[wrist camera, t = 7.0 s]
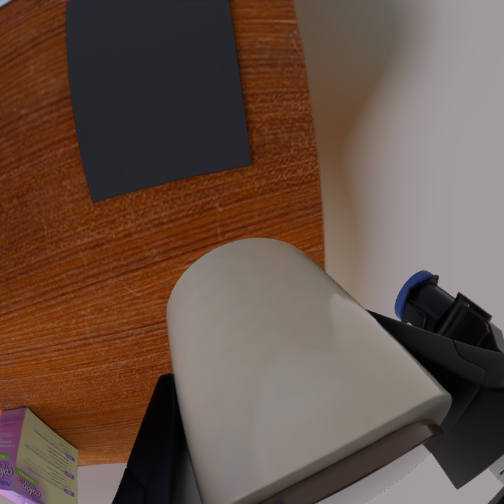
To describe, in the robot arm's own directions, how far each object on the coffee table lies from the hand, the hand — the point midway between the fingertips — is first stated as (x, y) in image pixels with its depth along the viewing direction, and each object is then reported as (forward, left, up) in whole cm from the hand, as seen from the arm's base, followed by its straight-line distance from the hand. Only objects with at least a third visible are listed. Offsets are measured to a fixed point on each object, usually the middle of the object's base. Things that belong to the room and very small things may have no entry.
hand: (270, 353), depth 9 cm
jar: (0, 0, -2) cm, 2 cm away
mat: (+2, -11, -13) cm, 17 cm away
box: (+28, +21, -13) cm, 37 cm away
